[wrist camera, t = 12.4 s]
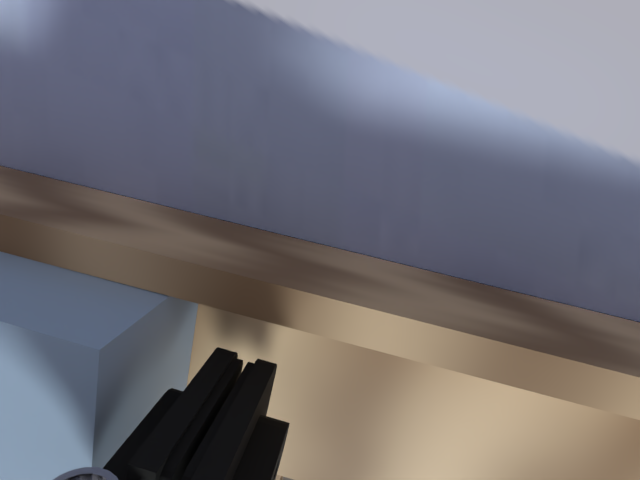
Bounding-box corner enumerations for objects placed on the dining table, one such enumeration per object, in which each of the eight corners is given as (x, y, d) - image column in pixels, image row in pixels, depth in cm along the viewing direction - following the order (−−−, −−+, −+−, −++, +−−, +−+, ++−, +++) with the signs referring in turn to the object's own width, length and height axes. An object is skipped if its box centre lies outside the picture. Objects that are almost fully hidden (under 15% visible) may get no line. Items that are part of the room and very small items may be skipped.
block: (44, 369, 14) (-112, 478, 9) (47, 229, 12) (-136, 281, 8) (183, 410, 13) (86, 545, 9) (202, 270, 12) (99, 350, 7)
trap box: (-71, 468, 19) (-187, 554, 15) (-98, 142, 14) (-271, 144, 11) (567, 669, 16) (625, 834, 12) (756, 351, 12) (930, 451, 8)
